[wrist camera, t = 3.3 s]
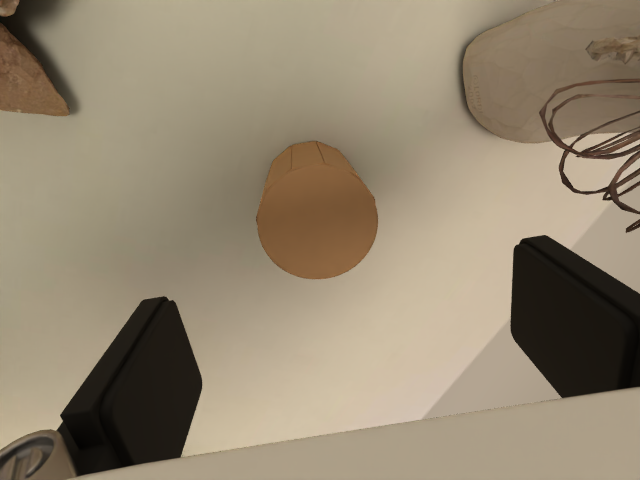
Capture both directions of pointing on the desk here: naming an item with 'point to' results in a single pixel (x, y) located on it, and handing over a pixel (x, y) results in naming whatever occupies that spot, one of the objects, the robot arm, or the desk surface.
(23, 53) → the fossil
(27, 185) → the desk surface
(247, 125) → the desk surface
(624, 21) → the figurine
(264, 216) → the grooved wooden cylinder
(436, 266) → the desk surface
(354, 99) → the desk surface
